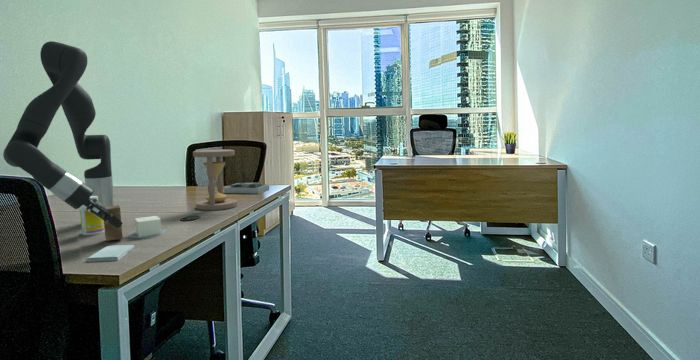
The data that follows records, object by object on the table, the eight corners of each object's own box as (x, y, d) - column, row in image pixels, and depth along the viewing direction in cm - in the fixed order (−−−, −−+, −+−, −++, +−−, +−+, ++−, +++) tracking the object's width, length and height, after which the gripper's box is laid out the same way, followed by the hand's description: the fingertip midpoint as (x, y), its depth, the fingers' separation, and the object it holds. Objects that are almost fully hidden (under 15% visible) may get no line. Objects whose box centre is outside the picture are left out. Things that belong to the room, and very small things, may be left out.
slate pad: (120, 238, 147) (120, 237, 146) (144, 229, 158) (144, 228, 158) (150, 239, 144) (150, 238, 144) (172, 230, 156) (172, 229, 156)
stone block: (238, 190, 248) (238, 181, 247) (263, 191, 244) (262, 181, 244) (231, 193, 239) (230, 183, 238) (256, 193, 236) (255, 184, 235)
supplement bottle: (108, 232, 155) (105, 195, 153) (91, 237, 149) (87, 199, 147) (95, 230, 158) (92, 194, 156) (77, 235, 152) (74, 197, 150)
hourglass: (209, 202, 210) (205, 149, 207) (243, 203, 207) (241, 149, 204) (188, 210, 193) (184, 152, 190) (225, 210, 190) (222, 152, 186)
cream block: (138, 237, 146) (137, 222, 146) (135, 232, 152) (134, 218, 151) (161, 233, 150) (160, 219, 149) (157, 229, 156) (156, 215, 155)
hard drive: (117, 256, 123) (134, 244, 135) (86, 258, 122) (105, 245, 134) (118, 262, 123) (134, 249, 135) (86, 264, 122) (106, 250, 134)
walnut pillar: (106, 240, 139) (103, 209, 138) (105, 237, 143) (102, 206, 142) (122, 238, 142) (120, 207, 140) (121, 235, 146) (118, 205, 144)
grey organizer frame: (224, 193, 239) (223, 187, 238) (236, 188, 253) (236, 183, 253) (258, 193, 235) (258, 187, 234) (269, 189, 249) (269, 184, 248)
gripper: (82, 183, 130) (131, 219, 138) (80, 178, 142) (125, 211, 150) (62, 203, 128) (113, 238, 136) (62, 196, 140) (109, 229, 148)
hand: (119, 224), depth 143 cm, fingers closed on walnut pillar, 4 cm apart
